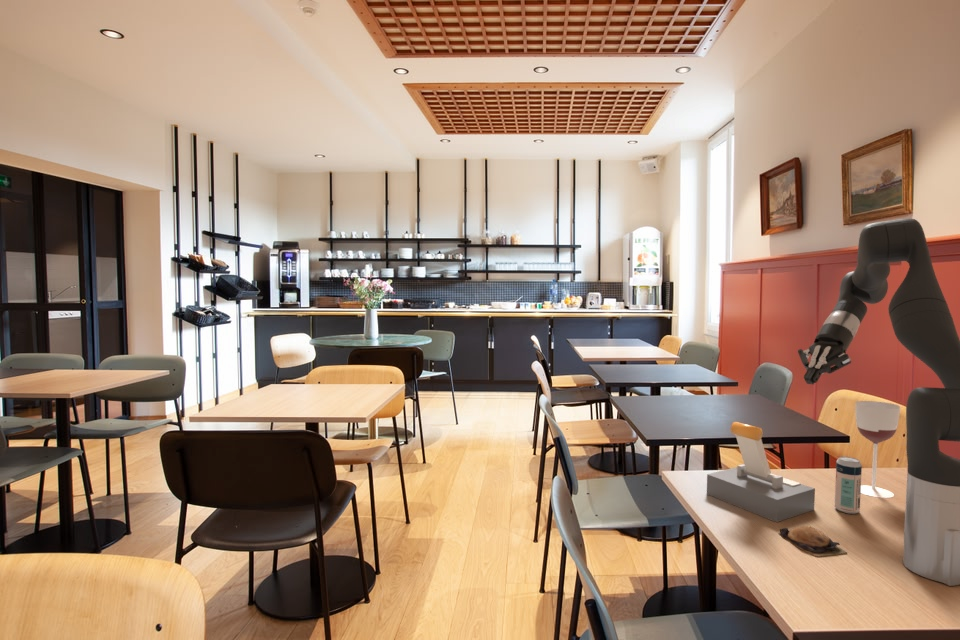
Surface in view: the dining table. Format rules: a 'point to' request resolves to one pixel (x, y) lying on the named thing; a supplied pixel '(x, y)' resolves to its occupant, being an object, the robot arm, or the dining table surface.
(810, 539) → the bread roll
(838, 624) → the dining table surface
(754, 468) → the breaker lever
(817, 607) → the dining table surface
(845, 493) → the beer can
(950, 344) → the robot arm
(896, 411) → the wineglass
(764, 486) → the block
